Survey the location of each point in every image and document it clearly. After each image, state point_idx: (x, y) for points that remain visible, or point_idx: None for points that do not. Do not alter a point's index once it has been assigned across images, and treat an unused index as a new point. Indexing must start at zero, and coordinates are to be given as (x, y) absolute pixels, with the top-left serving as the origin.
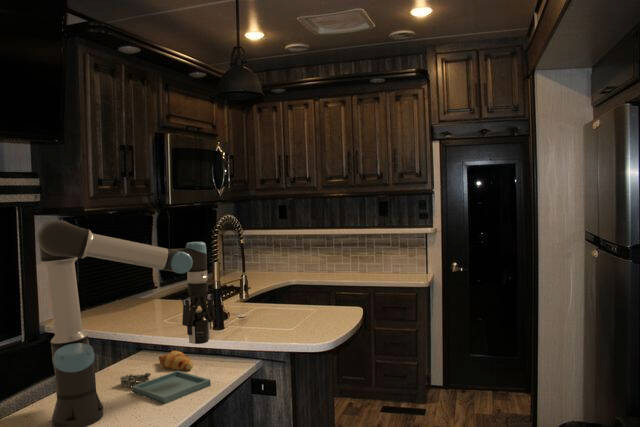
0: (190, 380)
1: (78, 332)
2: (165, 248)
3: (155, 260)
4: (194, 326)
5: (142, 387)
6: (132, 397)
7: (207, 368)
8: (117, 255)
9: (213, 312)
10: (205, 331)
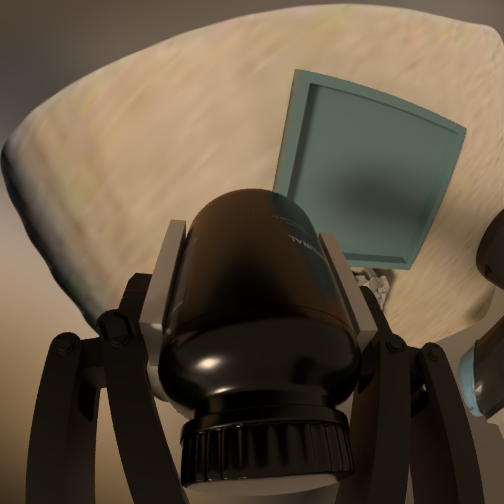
0: (298, 167)
1: None
2: None
3: None
4: (359, 329)
5: (387, 256)
6: (428, 235)
7: (153, 218)
8: None
9: (52, 405)
10: (267, 234)
